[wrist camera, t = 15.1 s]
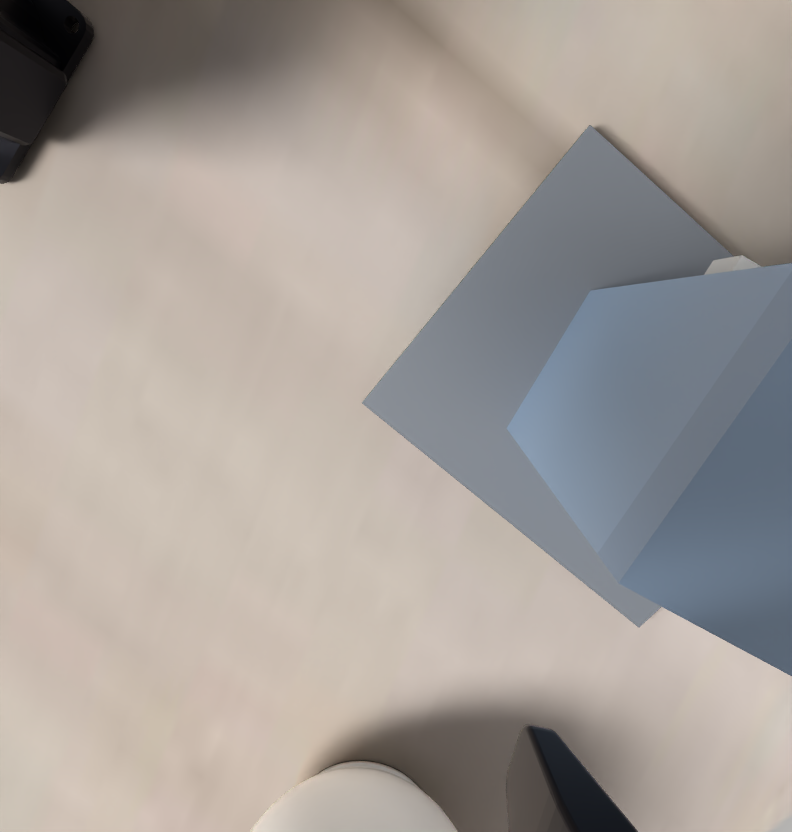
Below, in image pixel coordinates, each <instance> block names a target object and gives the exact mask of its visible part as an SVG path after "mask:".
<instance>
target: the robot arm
mask: <svg viewBox="0 0 792 832" xmlns="http://www.w3.org/2000/svg"><path fill="white" fill-rule="evenodd" d="M76 23H79V28H78V31H77V32H76V33H72V28H73V26H74V25H75V24H76ZM93 36H94V29H93V26H92V24H91V22H90V21H89V20H88V18H87V17H85V16H84V15H83V14H82V13H81V12H80V11H79V10H77V9H76V8H75V7H74V6H73V5H72V4H70V3H69V2H68V1H67V0H0V184H4V183H7V182H8V181H9V180H10V179H11V178H12V176H13V175H14V173H15V171H16V170H17V168H18V166H19V165H20V163H21V161H22V159H23V158H24V156H25V154H26V153H27V151H28V149H29V147H30V146H31V144H32V143H33V141H34V140H35V138H36V136H37V135H38V133H39V131H40V129H41V128H42V126H43V124H44V123H45V121H46V119H47V118H48V116H49V114H50V112H51V111H52V109H53V107H54V106H55V104H56V102H57V101H58V99H59V97H60V95H61V94H62V92H63V90H64V89H65V87H66V85H67V83H68V81H69V79H70V78H71V76H72V74H73V73H74V71H75V69H76V67H77V66H78V64H79V62H80V61H81V59H82V57H83V56H84V54H85V52H86V50H87V49H88V47H89V45H90V44H91V42H92V39H93ZM506 793H507V809H508V826H509V832H638V831H637V830H636V829H635V827H634V826H633V825H632V824H631V823H630V821H629V820H628V819H627V818H626V817H625V815H624V814H623V813H622V812H621V810H620V809H619V808H618V807H617V806H616V804H615V803H614V802H613V801H612V800H611V798H610V797H609V796H608V795H607V794H606V792H605V791H604V790H603V789H602V788H601V786H600V785H599V784H598V783H597V782H596V780H595V779H594V778H593V777H592V776H591V774H590V773H589V772H588V771H587V770H586V768H585V767H584V766H583V765H582V764H581V762H580V761H579V760H578V759H577V758H576V756H575V755H574V754H573V753H572V752H571V750H570V749H569V748H568V747H567V746H566V744H565V743H564V742H563V741H562V739H561V738H560V737H559V736H558V735H557V734H556V733H555V732H554V731H553V730H551V729H548V728H544V727H539V726H535V725H531V724H527V725H525V726H524V727H523V728H522V729H521V731H520V734H519V737H518V740H517V743H516V746H515V750H514V753H513V756H512V759H511V762H510V765H509V768H508V772H507V780H506Z"/></svg>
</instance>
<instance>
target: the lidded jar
mask: <svg viewBox="0 0 792 832" xmlns="http://www.w3.org/2000/svg"><path fill="white" fill-rule="evenodd" d="M250 832H458V831H457V829H456V828H455V826H454V825H453V824H452V822H451V821H450V819H449V818H448V817H447V815H446V814H445V813H444V811H443V810H442V809H441V808H440V807H439V806H438V805H437V804H436V803H435V802H434V801H433V800H432V799H431V798H430V797H429V796H428V795H427V794H426V793H424V792H423V791H422V790H420V788H419V787H418V786H417V785H416V784H415V783H414V782H413V781H412V780H411V779H410V778H409V777H407V776H406V775H405V774H403V773H402V772H400V771H398V770H396V769H394V768H392V767H389V766H387V765H384V764H380V763H376V762H370V761H350V762H344V763H340V764H336V765H333V766H331V767H329V768H327V769H325V770H323V771H321V772H320V773H319V774H317V775H316V776H313V777H311V778H309V779H307V780H305V781H303V782H301V783H299V784H297V785H296V786H295V787H293V788H292V789H290V790H289V791H288V792H286V793H285V794H284V795H283V796H281V797H280V798H279V799H278V800H276V801H275V802H274V803H273V804H272V805H271V806H270V807H269V809H268V810H267V811H266V812H265V813H264V814H263V815H262V816H261V818H260V819H259V820H258V821H257V822H256V824H255V825H254V826H253V827H252V829H251V830H250Z"/></svg>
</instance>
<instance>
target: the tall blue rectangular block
mask: <svg viewBox="0 0 792 832" xmlns="http://www.w3.org/2000/svg"><path fill="white" fill-rule="evenodd" d="M507 430H508V431H509V432H510V434H511V435H512V437H513V438H514V439H515V441H516V442H517V443H518V445H519V446H520V448H521V449H522V450H523V452H524V453H525V455H526V456H527V457H528V459H529V460H530V461H531V463H532V464H533V466H534V467H535V468H536V470H537V471H538V473H539V474H540V475H541V477H542V478H543V479H544V481H545V482H546V484H547V485H548V486H549V488H550V489H551V491H552V492H553V493H554V495H555V496H556V498H557V499H558V500H559V502H560V503H561V504H562V506H563V507H564V509H565V510H566V511H567V513H568V514H569V516H570V517H571V518H572V520H573V521H574V522H575V524H576V525H577V527H578V528H579V529H580V531H581V532H582V534H583V535H584V536H585V538H586V539H587V540H588V542H589V543H590V545H591V546H592V547H593V549H594V550H595V552H596V553H597V554H598V556H599V557H600V558H601V560H602V561H603V563H604V564H605V565H606V567H607V568H608V570H609V571H610V572H611V574H612V575H613V577H614V578H615V579H616V581H617V582H618V583H619V584H621V585H622V586H624V587H626V588H628V589H630V590H632V591H634V592H636V593H637V594H639V595H641V596H643V597H645V598H647V599H649V600H650V601H652V602H654V603H656V604H658V605H660V606H662V607H664V608H665V609H667V610H669V611H671V612H673V613H675V614H677V615H678V616H680V617H682V618H684V619H686V620H688V621H690V622H692V623H693V624H695V625H697V626H699V627H701V628H703V629H705V630H706V631H708V632H710V633H712V634H714V635H716V636H718V637H720V638H721V639H723V640H725V641H727V642H729V643H731V644H733V645H734V646H736V647H738V648H740V649H742V650H744V651H746V652H748V653H749V654H751V655H753V656H755V657H757V658H759V659H761V660H762V661H764V662H766V663H768V664H770V665H772V666H774V667H776V668H777V669H779V670H781V671H783V672H785V673H787V674H789V675H790V676H792V263H788V264H780V265H773V266H766V267H762V266H760V265H758V264H757V263H755V262H753V261H751V260H750V259H748V258H746V257H745V256H743V255H740V256H735V257H729V258H724V259H718V260H713V262H712V263H711V265H710V266H709V268H708V269H707V271H706V272H705V274H704V275H700V276H692V277H685V278H678V279H670V280H663V281H656V282H648V283H641V284H634V285H627V286H619V287H612V288H605V289H597V290H590V292H589V293H588V295H587V297H586V298H585V300H584V302H583V303H582V305H581V307H580V308H579V310H578V312H577V313H576V315H575V317H574V318H573V320H572V321H571V323H570V325H569V326H568V328H567V330H566V331H565V333H564V335H563V336H562V338H561V340H560V341H559V343H558V344H557V346H556V348H555V349H554V351H553V353H552V354H551V356H550V358H549V359H548V361H547V363H546V364H545V366H544V368H543V369H542V371H541V372H540V374H539V376H538V377H537V379H536V381H535V382H534V384H533V386H532V387H531V389H530V391H529V392H528V394H527V396H526V397H525V399H524V400H523V402H522V404H521V405H520V407H519V409H518V410H517V412H516V414H515V415H514V417H513V419H512V420H511V422H510V424H509V425H508V427H507Z"/></svg>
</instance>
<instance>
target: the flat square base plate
mask: <svg viewBox="0 0 792 832" xmlns="http://www.w3.org/2000/svg"><path fill="white" fill-rule="evenodd" d="M729 257H734V256H733V255H732V254H731V253H730V252H728V251H727V250H726V249H725V248H724V247H723V246H722V245H721V244H720V243H719V242H718V241H716V240H715V239H714V238H713V237H712V236H711V235H710V234H709V233H708V232H707V231H706V230H704V229H703V228H702V227H701V226H700V225H699V224H698V223H697V222H696V221H695V220H694V219H692V218H691V217H690V216H689V215H688V214H687V213H686V212H685V211H684V210H683V209H681V208H680V207H679V206H678V205H677V204H676V203H675V202H674V201H673V200H672V199H671V198H669V197H668V196H667V195H666V194H665V193H664V192H663V191H662V190H661V189H660V188H659V187H657V186H656V185H655V184H654V183H653V182H652V181H651V180H650V179H649V178H648V177H647V176H645V175H644V174H643V173H642V172H641V171H640V170H639V169H638V168H637V167H636V166H635V165H633V164H632V163H631V162H630V161H629V160H628V159H627V158H626V157H625V156H624V155H622V154H621V153H620V152H619V151H618V150H617V149H616V148H615V147H614V146H613V145H612V144H610V143H609V142H608V141H607V140H606V139H605V138H604V137H603V136H602V135H601V134H600V133H598V132H597V131H596V130H595V129H594V128H593V127H592V126H591V125H589V126H588V128H587V129H586V130H585V131H584V132H583V134H582V135H581V136H580V137H579V138H578V140H577V141H576V142H575V143H574V145H573V146H572V147H571V148H570V149H569V151H568V152H567V153H566V154H565V155H564V157H563V158H562V159H561V160H560V162H559V163H558V164H557V165H556V166H555V168H554V169H553V170H552V171H551V173H550V174H549V175H548V176H547V177H546V179H545V180H544V181H543V182H542V184H541V185H540V186H539V187H538V188H537V190H536V191H535V192H534V193H533V195H532V196H531V197H530V198H529V199H528V201H527V202H526V203H525V204H524V206H523V207H522V208H521V209H520V210H519V212H518V213H517V214H516V215H515V217H514V218H513V219H512V220H511V221H510V223H509V224H508V225H507V226H506V227H505V229H504V230H503V231H502V232H501V234H500V235H499V236H498V237H497V238H496V240H495V241H494V242H493V243H492V245H491V246H490V247H489V248H488V249H487V251H486V252H485V253H484V254H483V256H482V257H481V258H480V259H479V260H478V262H477V263H476V264H475V265H474V267H473V268H472V269H471V270H470V271H469V273H468V274H467V275H466V276H465V278H464V279H463V280H462V281H461V282H460V284H459V285H458V286H457V287H456V289H455V290H454V291H453V292H452V293H451V295H450V296H449V297H448V298H447V299H446V301H445V302H444V303H443V304H442V306H441V307H440V308H439V309H438V310H437V312H436V313H435V314H434V315H433V317H432V318H431V319H430V320H429V321H428V323H427V324H426V325H425V326H424V328H423V329H422V330H421V331H420V332H419V334H418V335H417V336H416V337H415V339H414V340H413V341H412V342H411V343H410V345H409V346H408V347H407V348H406V350H405V351H404V352H403V353H402V354H401V356H400V357H399V358H398V359H397V361H396V362H395V363H394V364H393V365H392V367H391V368H390V369H389V370H388V371H387V373H386V374H385V375H384V376H383V378H382V379H381V380H380V381H379V382H378V384H377V385H376V386H375V387H374V389H373V390H372V391H371V392H370V393H369V395H368V396H367V397H366V398H365V400H364V401H363V402H362V403H363V404H364V405H365V406H366V407H367V408H369V409H370V410H371V411H372V412H374V413H375V414H376V415H377V416H379V417H380V418H381V419H382V420H383V421H385V422H386V423H387V424H388V425H390V426H391V427H392V428H393V429H395V430H396V431H397V432H398V433H400V434H401V435H402V436H403V437H404V438H406V439H407V440H408V441H409V442H411V443H412V444H413V445H414V446H416V447H417V448H418V449H419V450H420V451H422V452H423V453H424V454H425V455H427V456H428V457H429V458H430V459H432V460H433V461H434V462H435V463H437V464H438V465H439V466H440V467H441V468H443V469H444V470H445V471H446V472H448V473H449V474H450V475H451V476H453V477H454V478H455V479H456V480H457V481H459V482H460V483H461V484H462V485H464V486H465V487H466V488H467V489H469V490H470V491H471V492H472V493H474V494H475V495H476V496H477V497H478V498H480V499H481V500H482V501H483V502H485V503H486V504H487V505H488V506H490V507H491V508H492V509H493V510H494V511H496V512H497V513H498V514H499V515H501V516H502V517H503V518H504V519H506V520H507V521H508V522H509V523H511V524H512V525H513V526H514V527H515V528H517V529H518V530H519V531H520V532H522V533H523V534H524V535H525V536H527V537H528V538H529V539H530V540H531V541H533V542H534V543H535V544H536V545H538V546H539V547H540V548H541V549H543V550H544V551H545V552H546V553H548V554H549V555H550V556H551V557H552V558H554V559H555V560H556V561H557V562H559V563H560V564H561V565H562V566H564V567H565V568H566V569H567V570H568V571H570V572H571V573H572V574H573V575H575V576H576V577H577V578H578V579H580V580H581V581H582V582H583V583H585V584H586V585H587V586H588V587H589V588H591V589H592V590H593V591H594V592H596V593H597V594H598V595H599V596H601V597H602V598H603V599H604V600H605V601H607V602H608V603H609V604H610V605H612V606H613V607H614V608H615V609H617V610H618V611H619V612H620V613H622V614H623V615H624V616H625V617H626V618H628V619H629V620H630V621H631V622H633V623H634V624H635V625H636V626H638V627H640V626H641V625H642V624H643V623H645V622H646V621H647V620H648V619H649V618H650V617H651V616H652V615H653V614H654V613H655V612H656V611H657V610H658V609H659V608H661V607H662V606H660V605H658V604H656V603H654V602H652V601H650V600H649V599H647V598H645V597H643V596H641V595H639V594H637V593H636V592H634V591H632V590H630V589H628V588H626V587H624V586H622V585H621V584H619V583H618V582H617V581H616V579H615V578H614V577H613V575H612V574H611V572H610V571H609V570H608V568H607V567H606V565H605V564H604V563H603V561H602V560H601V558H600V557H599V556H598V554H597V553H596V552H595V550H594V549H593V547H592V546H591V545H590V543H589V542H588V540H587V539H586V538H585V536H584V535H583V534H582V532H581V531H580V529H579V528H578V527H577V525H576V524H575V522H574V521H573V520H572V518H571V517H570V516H569V514H568V513H567V511H566V510H565V509H564V507H563V506H562V504H561V503H560V502H559V500H558V499H557V498H556V496H555V495H554V493H553V492H552V491H551V489H550V488H549V486H548V485H547V484H546V482H545V481H544V479H543V478H542V477H541V475H540V474H539V473H538V471H537V470H536V468H535V467H534V466H533V464H532V463H531V461H530V460H529V459H528V457H527V456H526V455H525V453H524V452H523V450H522V449H521V448H520V446H519V445H518V443H517V442H516V441H515V439H514V438H513V437H512V435H511V434H510V432H509V431H508V430H507V427H508V425H509V424H510V422H511V420H512V419H513V417H514V415H515V414H516V412H517V410H518V409H519V407H520V405H521V404H522V402H523V400H524V399H525V397H526V396H527V394H528V392H529V391H530V389H531V387H532V386H533V384H534V382H535V381H536V379H537V377H538V376H539V374H540V372H541V371H542V369H543V368H544V366H545V364H546V363H547V361H548V359H549V358H550V356H551V354H552V353H553V351H554V349H555V348H556V346H557V344H558V343H559V341H560V340H561V338H562V336H563V335H564V333H565V331H566V330H567V328H568V326H569V325H570V323H571V321H572V320H573V318H574V317H575V315H576V313H577V312H578V310H579V308H580V307H581V305H582V303H583V302H584V300H585V298H586V297H587V295H588V293H589V292H590V290H597V289H605V288H612V287H619V286H627V285H634V284H641V283H648V282H656V281H663V280H670V279H678V278H685V277H692V276H700V275H704V274H705V272H706V271H707V269H708V268H709V266H710V265H711V263H712V262H713V260H718V259H724V258H729Z"/></svg>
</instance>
